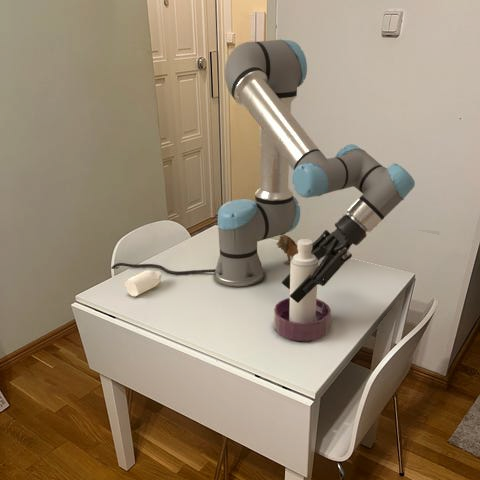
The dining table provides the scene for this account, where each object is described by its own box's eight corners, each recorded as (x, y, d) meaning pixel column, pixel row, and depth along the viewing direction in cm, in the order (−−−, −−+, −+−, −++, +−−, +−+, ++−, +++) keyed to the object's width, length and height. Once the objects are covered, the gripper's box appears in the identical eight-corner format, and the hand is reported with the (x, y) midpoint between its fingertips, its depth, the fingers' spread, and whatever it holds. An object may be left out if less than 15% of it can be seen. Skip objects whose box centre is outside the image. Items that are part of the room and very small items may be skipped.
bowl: (269, 339, 123) (269, 321, 121) (279, 312, 135) (279, 294, 132) (326, 345, 120) (327, 326, 117) (331, 316, 132) (332, 298, 129)
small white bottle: (168, 284, 152) (166, 267, 150) (139, 299, 145) (136, 282, 142) (155, 279, 156) (153, 263, 153) (126, 293, 148) (123, 276, 145)
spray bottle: (306, 335, 123) (310, 242, 111) (284, 327, 127) (285, 236, 114) (319, 324, 128) (325, 233, 115) (298, 316, 131) (301, 228, 119)
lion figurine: (274, 261, 164) (274, 236, 159) (283, 256, 168) (283, 231, 163) (311, 272, 156) (312, 246, 151) (320, 267, 159) (321, 241, 155)
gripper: (384, 248, 109) (311, 320, 115) (350, 219, 126) (288, 283, 132) (364, 227, 106) (290, 303, 111) (332, 201, 122) (269, 267, 128)
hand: (289, 292), depth 122 cm, fingers open, 7 cm apart
